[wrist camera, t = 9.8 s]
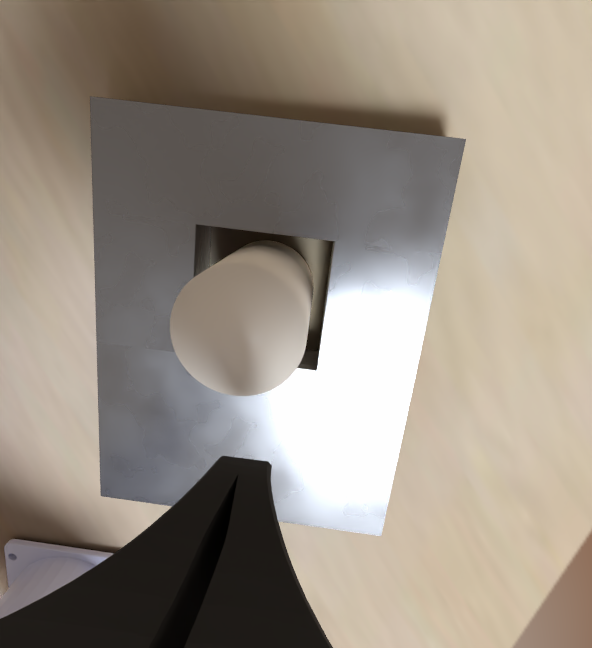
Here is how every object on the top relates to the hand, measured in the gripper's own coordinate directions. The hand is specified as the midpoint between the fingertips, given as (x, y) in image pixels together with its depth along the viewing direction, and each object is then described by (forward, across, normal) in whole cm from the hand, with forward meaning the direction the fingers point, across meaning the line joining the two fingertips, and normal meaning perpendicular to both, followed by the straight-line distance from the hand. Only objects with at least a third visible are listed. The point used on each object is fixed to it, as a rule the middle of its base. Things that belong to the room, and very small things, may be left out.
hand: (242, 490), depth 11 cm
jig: (+10, +1, -1) cm, 10 cm away
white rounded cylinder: (+10, +1, -3) cm, 11 cm away
